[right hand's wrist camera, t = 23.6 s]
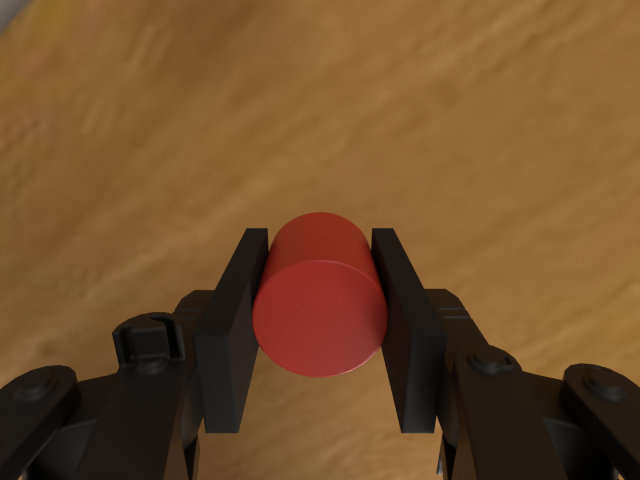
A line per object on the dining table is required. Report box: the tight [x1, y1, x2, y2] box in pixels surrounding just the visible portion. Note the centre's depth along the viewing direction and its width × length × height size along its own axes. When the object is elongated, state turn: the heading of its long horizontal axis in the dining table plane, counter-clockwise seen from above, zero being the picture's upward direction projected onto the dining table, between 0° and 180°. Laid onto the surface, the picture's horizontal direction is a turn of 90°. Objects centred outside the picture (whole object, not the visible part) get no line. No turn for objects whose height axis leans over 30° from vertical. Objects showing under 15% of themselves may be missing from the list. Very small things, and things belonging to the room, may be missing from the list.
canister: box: [252, 212, 388, 377], centre depth 13 cm, size 4×4×4 cm
